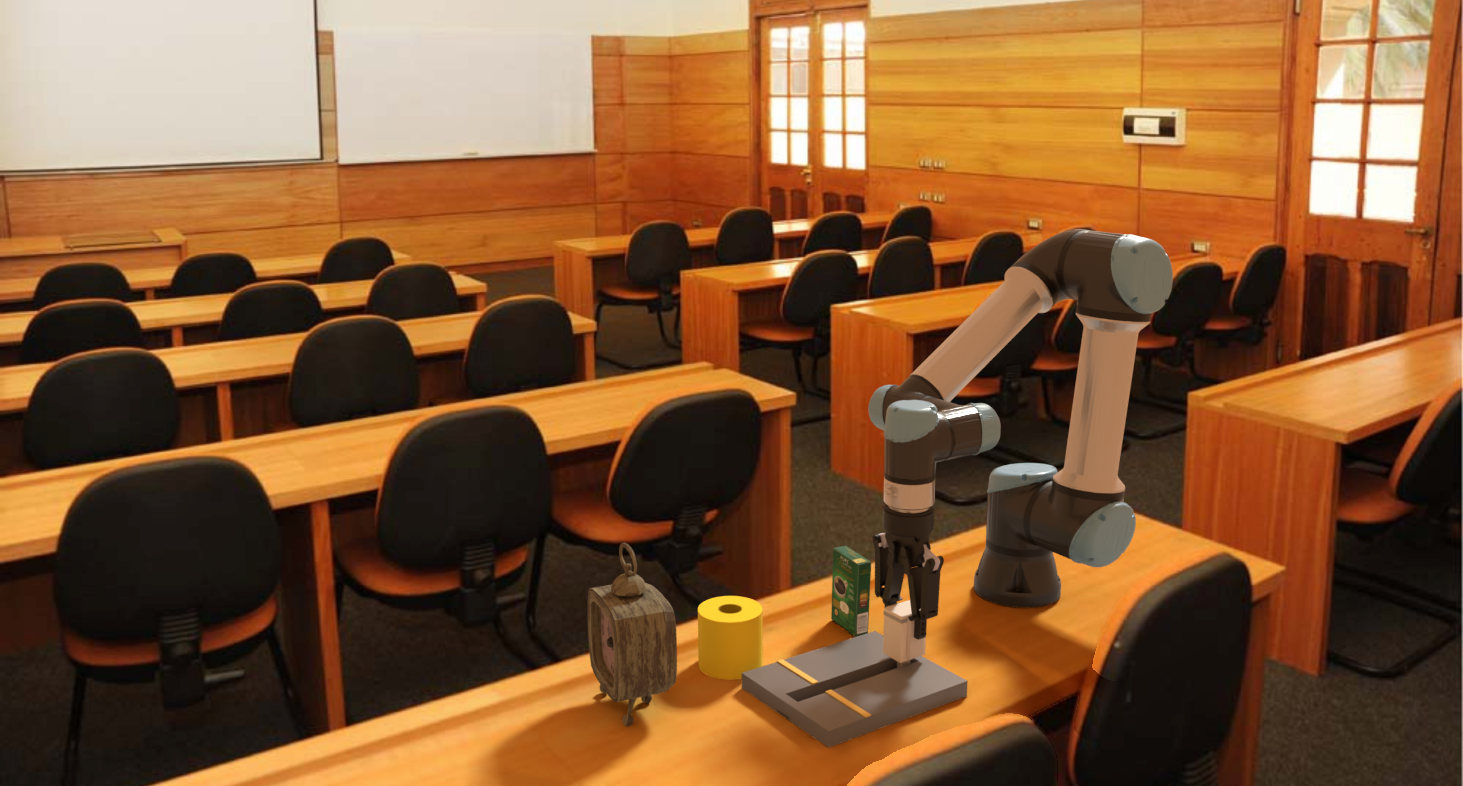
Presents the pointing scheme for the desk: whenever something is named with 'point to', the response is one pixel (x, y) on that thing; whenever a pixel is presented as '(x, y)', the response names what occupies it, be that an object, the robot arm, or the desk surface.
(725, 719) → the desk surface
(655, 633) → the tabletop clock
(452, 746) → the desk surface
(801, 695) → the fader console
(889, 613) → the fader knob
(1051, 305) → the robot arm
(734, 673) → the yellow toilet paper roll
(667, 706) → the desk surface
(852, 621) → the coffee box
